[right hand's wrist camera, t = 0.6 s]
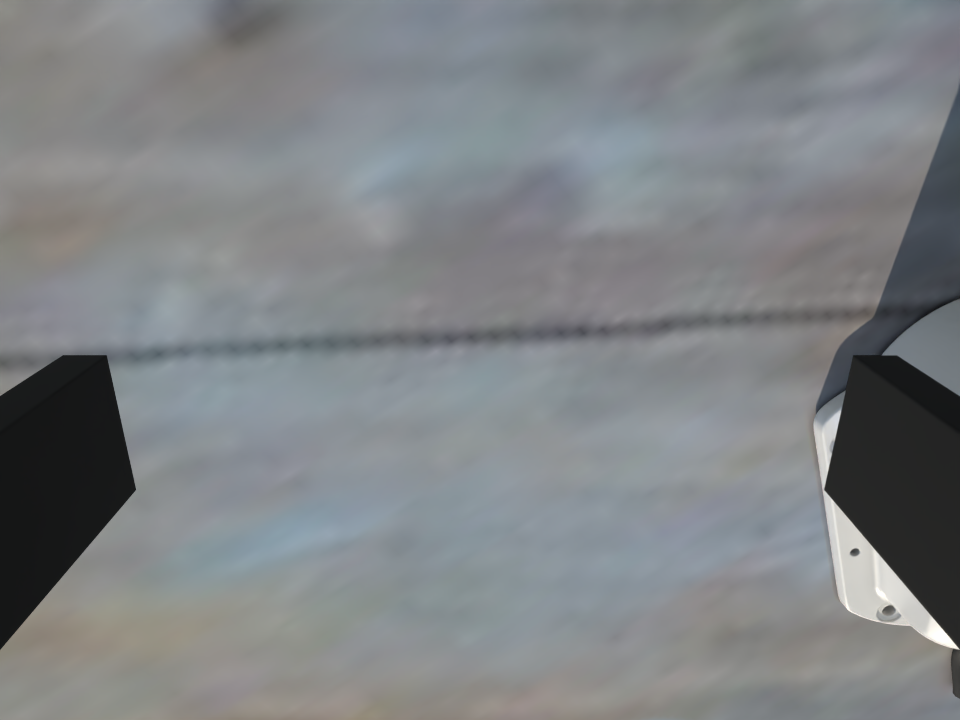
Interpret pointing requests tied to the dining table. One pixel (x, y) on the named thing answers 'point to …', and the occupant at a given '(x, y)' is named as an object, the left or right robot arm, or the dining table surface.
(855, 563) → the left robot arm
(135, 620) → the dining table surface
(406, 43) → the dining table surface
